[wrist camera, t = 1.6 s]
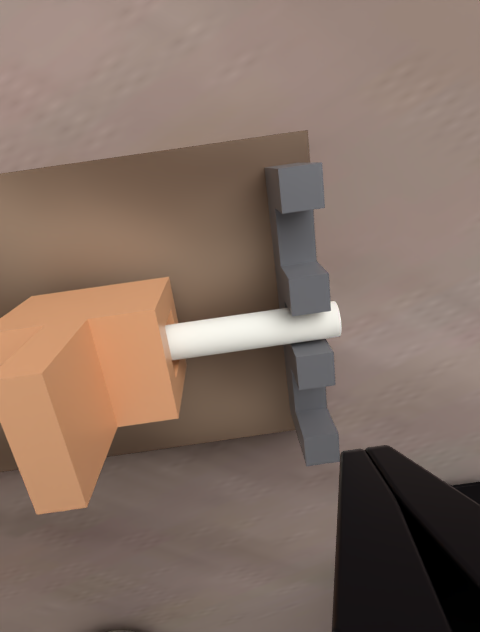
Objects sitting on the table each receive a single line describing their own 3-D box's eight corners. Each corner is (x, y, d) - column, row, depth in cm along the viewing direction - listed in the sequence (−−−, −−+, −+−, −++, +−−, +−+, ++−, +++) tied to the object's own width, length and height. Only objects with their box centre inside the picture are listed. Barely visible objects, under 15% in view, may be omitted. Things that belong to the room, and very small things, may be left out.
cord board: (320, 406, 20) (328, 426, 18) (-161, 475, 20) (-191, 500, 18) (299, 132, 16) (307, 129, 14) (-310, 219, 16) (-366, 225, 14)
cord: (332, 328, 15) (342, 342, 14) (-229, 408, 15) (-267, 429, 14) (330, 296, 14) (340, 308, 13) (-248, 378, 14) (-288, 397, 13)
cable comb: (317, 407, 18) (340, 461, 15) (290, 410, 18) (306, 466, 15) (298, 162, 15) (321, 162, 11) (264, 167, 15) (278, 168, 11)
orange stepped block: (186, 365, 16) (166, 496, 10) (59, 383, 16) (-43, 525, 10) (169, 276, 15) (132, 360, 9) (31, 296, 15) (-107, 394, 9)
